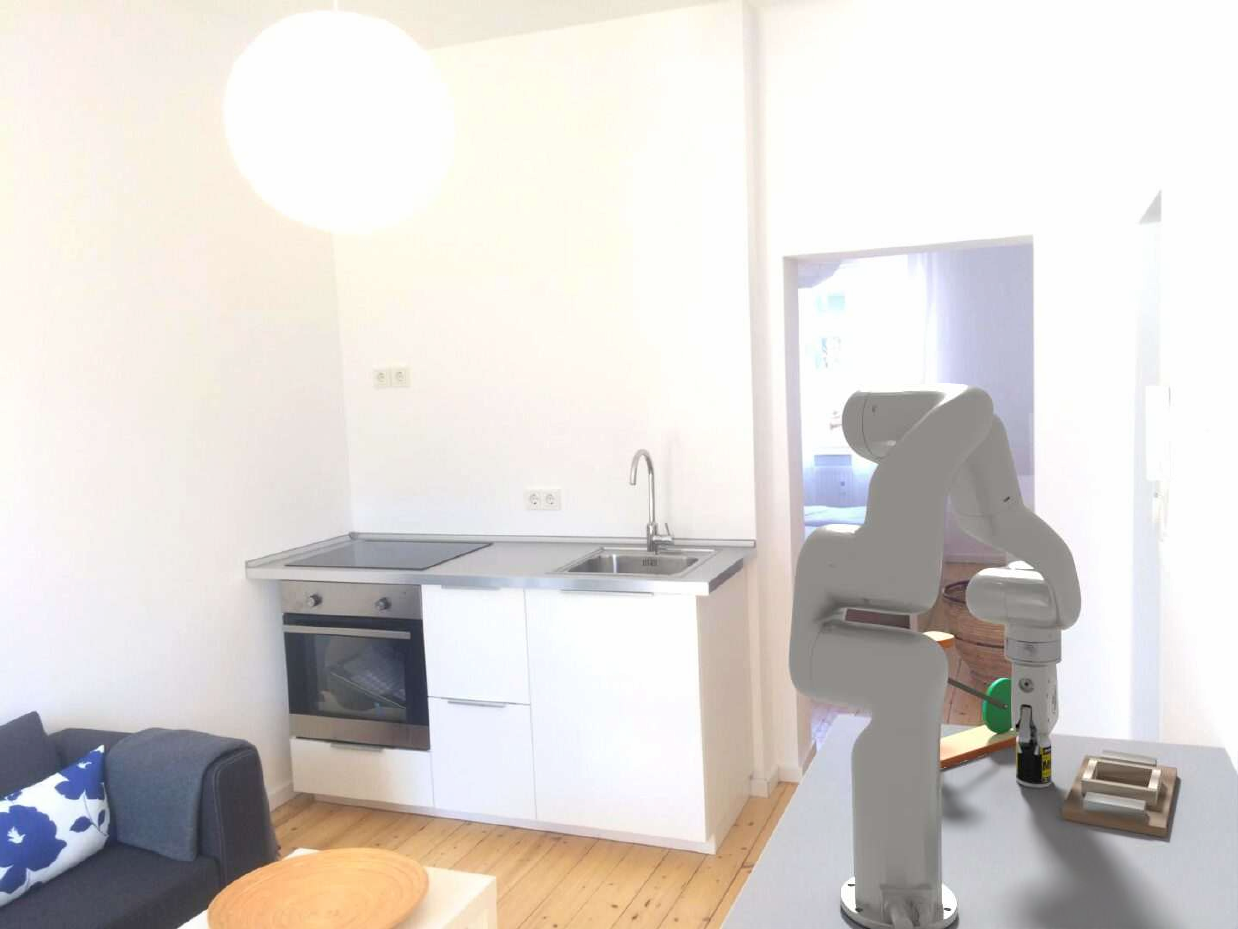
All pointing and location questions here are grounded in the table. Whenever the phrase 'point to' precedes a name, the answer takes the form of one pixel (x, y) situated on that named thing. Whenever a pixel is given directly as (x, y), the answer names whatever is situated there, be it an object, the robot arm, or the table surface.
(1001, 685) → the crank mechanism
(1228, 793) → the table surface
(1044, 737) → the supplement bottle
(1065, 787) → the table surface
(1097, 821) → the jig board
